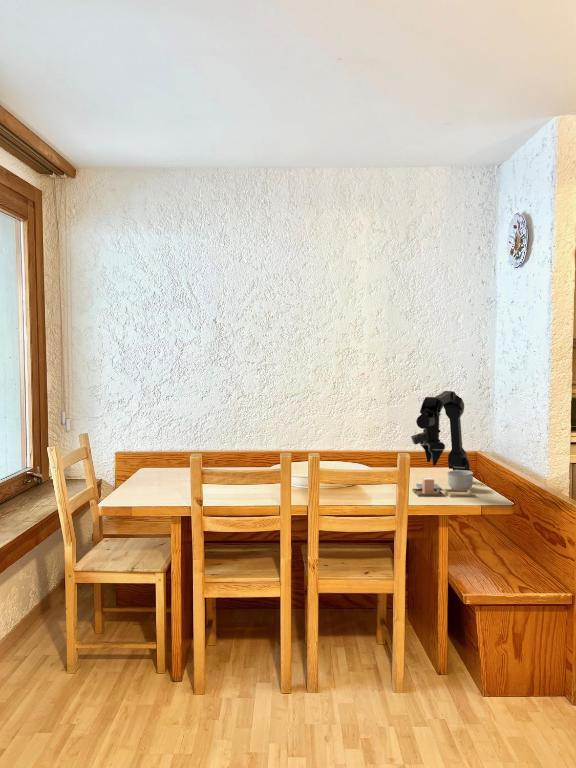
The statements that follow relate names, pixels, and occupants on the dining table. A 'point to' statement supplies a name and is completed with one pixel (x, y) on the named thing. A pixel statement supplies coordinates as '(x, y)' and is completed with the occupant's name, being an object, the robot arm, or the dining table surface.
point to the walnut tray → (436, 494)
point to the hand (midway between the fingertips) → (431, 463)
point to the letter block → (428, 486)
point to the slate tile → (434, 486)
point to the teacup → (460, 479)
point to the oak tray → (459, 493)
